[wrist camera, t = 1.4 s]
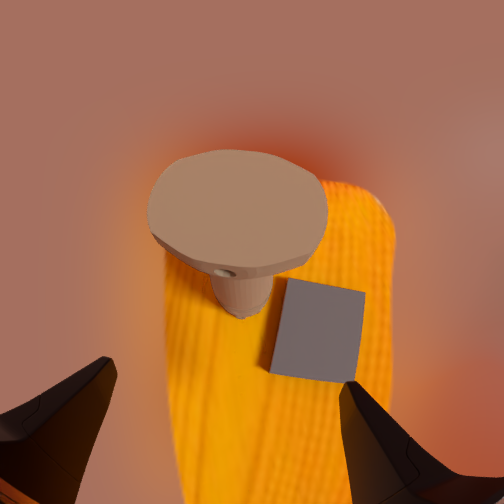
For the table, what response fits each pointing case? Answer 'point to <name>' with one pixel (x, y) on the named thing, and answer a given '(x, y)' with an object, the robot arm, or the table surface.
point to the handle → (238, 221)
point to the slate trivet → (318, 332)
